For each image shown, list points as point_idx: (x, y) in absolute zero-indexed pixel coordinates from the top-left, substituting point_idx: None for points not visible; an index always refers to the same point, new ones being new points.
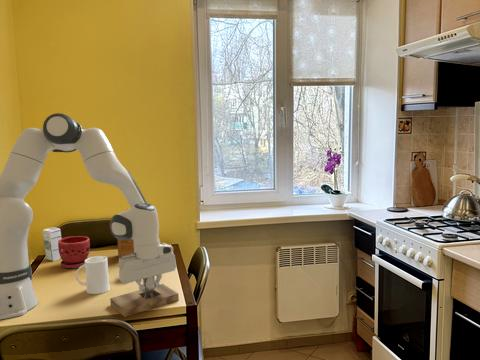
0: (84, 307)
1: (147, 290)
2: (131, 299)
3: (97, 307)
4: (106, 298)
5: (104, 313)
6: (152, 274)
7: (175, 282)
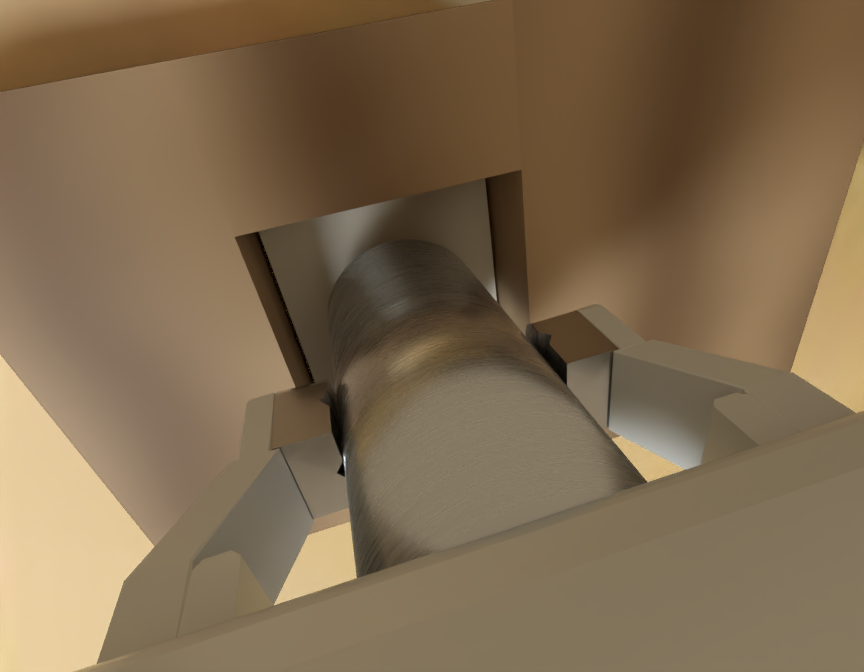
0: (860, 377)
1: (492, 306)
2: (667, 259)
3: (813, 342)
4: (682, 470)
5: (860, 192)
6: (491, 606)
7: (25, 636)
